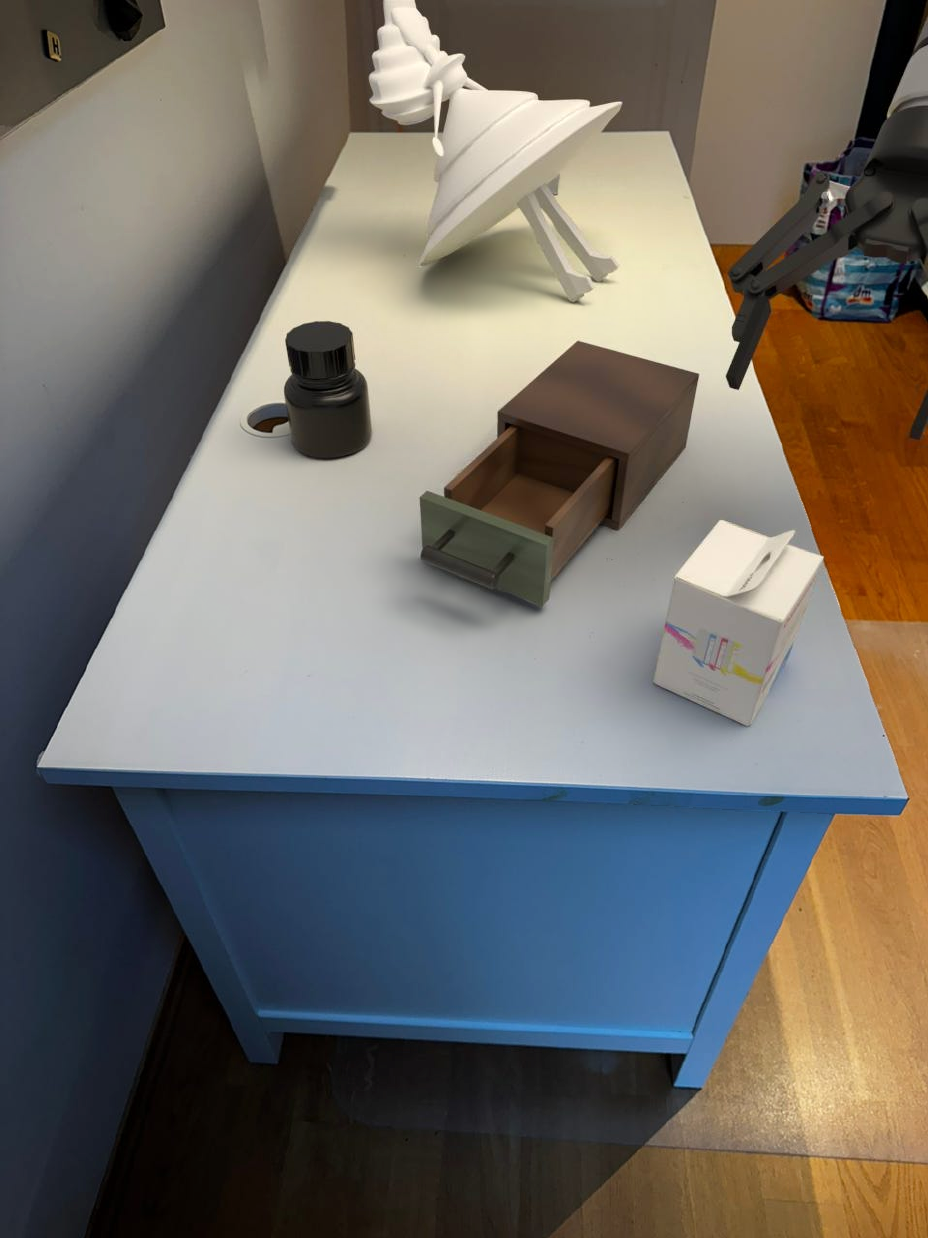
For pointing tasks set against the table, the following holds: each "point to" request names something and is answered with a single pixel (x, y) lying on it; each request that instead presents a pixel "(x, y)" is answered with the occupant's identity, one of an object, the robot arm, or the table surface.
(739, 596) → the ink box
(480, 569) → the drawer
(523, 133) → the figurine
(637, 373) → the cabinet
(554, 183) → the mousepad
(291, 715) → the table surface
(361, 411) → the ink bottle
